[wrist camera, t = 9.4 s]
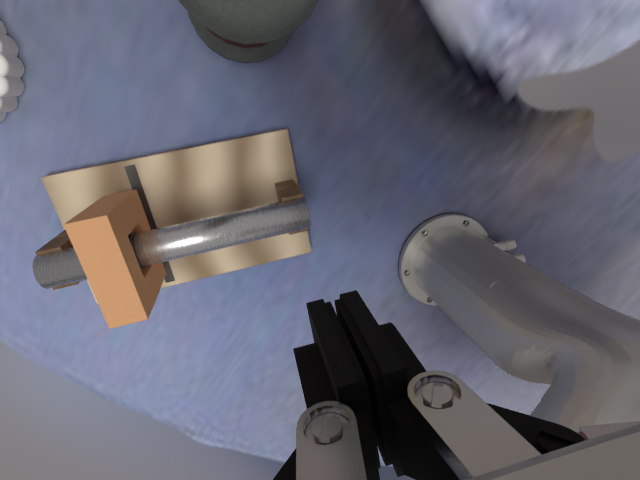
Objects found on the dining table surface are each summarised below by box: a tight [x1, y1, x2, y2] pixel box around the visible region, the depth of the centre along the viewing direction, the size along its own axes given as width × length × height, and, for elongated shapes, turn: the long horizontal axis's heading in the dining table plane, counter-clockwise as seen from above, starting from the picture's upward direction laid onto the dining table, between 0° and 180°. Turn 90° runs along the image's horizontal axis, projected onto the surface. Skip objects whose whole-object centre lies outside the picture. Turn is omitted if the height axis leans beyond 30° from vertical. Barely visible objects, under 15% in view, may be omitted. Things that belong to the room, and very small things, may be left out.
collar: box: [63, 189, 166, 329], centre depth 33 cm, size 3×9×9 cm, turn 10°
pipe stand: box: [35, 128, 311, 303], centre depth 38 cm, size 24×14×8 cm, turn 100°
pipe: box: [33, 197, 311, 289], centre depth 34 cm, size 23×3×3 cm, turn 100°
